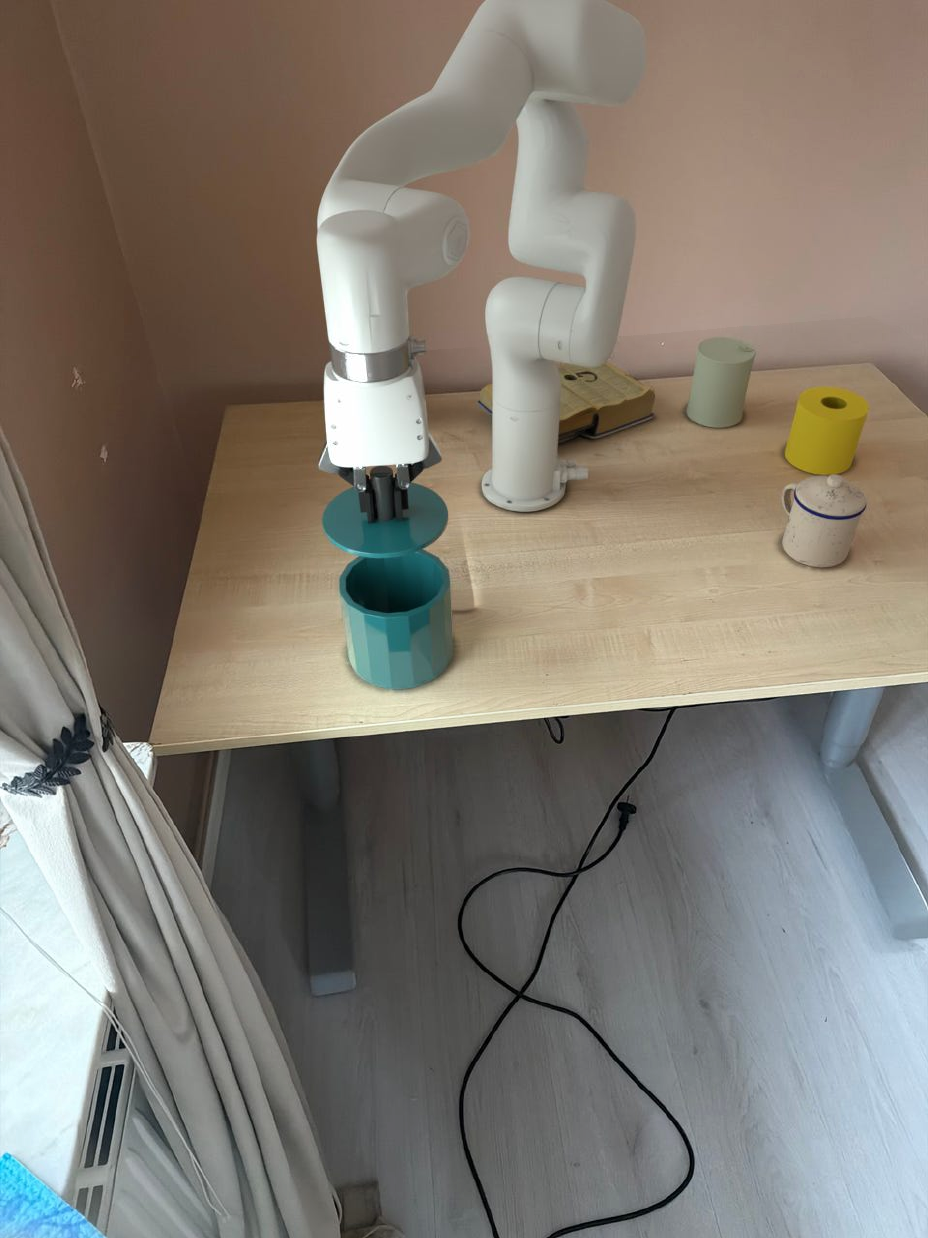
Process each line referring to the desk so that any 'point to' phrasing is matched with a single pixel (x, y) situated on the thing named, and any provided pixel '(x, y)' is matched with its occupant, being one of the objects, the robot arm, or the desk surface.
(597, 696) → the desk surface
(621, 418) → the book
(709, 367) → the can
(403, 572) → the pot
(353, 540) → the lid
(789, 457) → the yellow toilet paper roll
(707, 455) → the desk surface
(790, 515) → the teacup with lid
